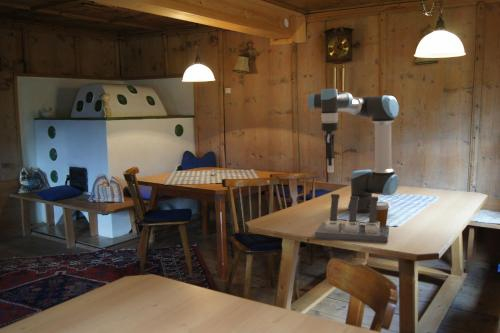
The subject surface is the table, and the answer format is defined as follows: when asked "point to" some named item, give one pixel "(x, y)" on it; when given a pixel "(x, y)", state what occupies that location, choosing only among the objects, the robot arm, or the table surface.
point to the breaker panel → (353, 231)
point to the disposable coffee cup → (382, 213)
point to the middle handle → (353, 208)
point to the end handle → (373, 209)
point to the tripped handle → (334, 207)
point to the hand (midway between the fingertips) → (330, 172)
